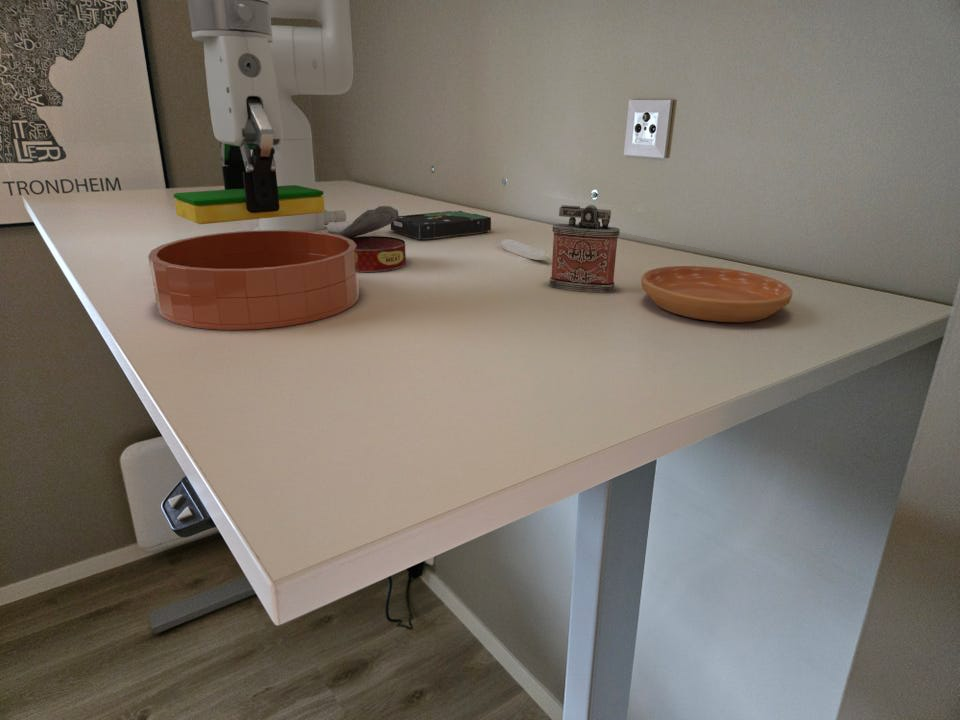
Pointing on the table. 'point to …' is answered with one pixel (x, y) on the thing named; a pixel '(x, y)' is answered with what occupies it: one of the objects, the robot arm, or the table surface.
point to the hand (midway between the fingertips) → (252, 205)
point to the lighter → (584, 250)
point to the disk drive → (441, 224)
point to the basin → (254, 278)
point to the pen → (525, 250)
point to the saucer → (715, 293)
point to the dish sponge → (233, 204)
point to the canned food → (376, 241)
